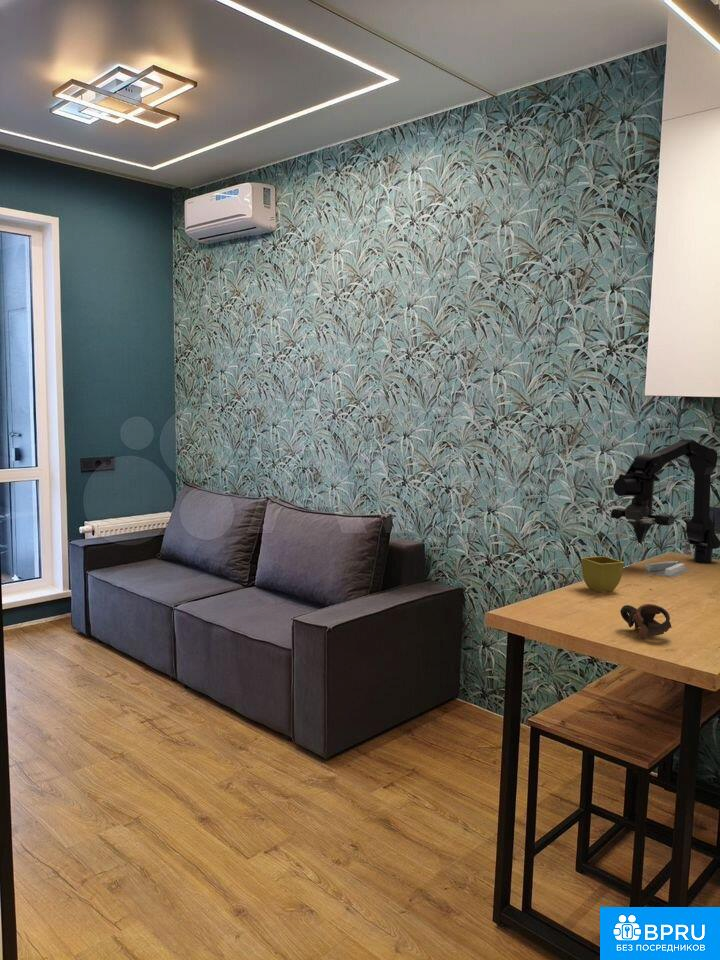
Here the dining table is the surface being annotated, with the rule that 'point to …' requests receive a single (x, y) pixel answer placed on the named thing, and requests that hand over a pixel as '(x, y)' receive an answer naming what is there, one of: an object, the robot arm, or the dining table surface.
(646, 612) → the dark brown openwork sculpture
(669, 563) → the tong arm
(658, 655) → the dining table surface
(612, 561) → the flower pot
